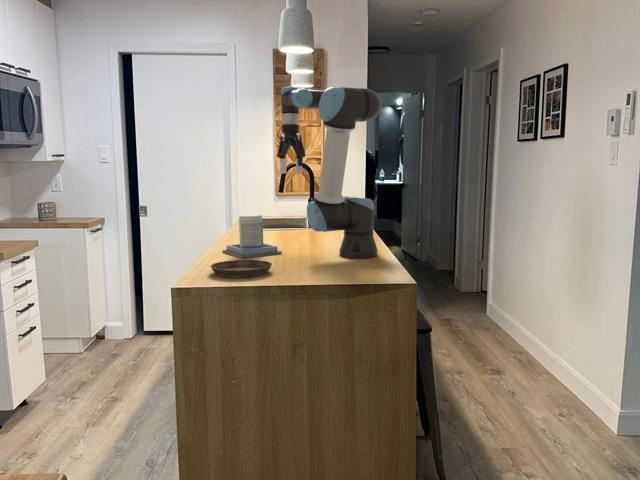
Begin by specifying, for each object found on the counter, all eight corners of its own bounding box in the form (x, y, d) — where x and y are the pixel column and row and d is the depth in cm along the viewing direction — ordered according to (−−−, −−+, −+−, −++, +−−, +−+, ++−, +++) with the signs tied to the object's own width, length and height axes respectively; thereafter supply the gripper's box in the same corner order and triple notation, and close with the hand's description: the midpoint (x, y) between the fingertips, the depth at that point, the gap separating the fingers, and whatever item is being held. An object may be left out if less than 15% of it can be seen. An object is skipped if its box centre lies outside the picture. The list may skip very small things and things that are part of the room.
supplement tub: (267, 251, 229) (266, 215, 227) (246, 253, 224) (245, 216, 222) (256, 248, 237) (255, 213, 235) (236, 250, 232) (235, 214, 230)
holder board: (281, 253, 228) (281, 246, 228) (241, 258, 218) (241, 250, 218) (261, 248, 243) (260, 241, 243) (222, 252, 233) (222, 245, 233)
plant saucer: (214, 268, 201) (214, 259, 200) (272, 267, 202) (272, 258, 202) (207, 280, 180) (206, 270, 180) (271, 279, 182) (271, 269, 181)
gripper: (313, 122, 234) (313, 174, 237) (283, 125, 255) (284, 172, 258) (298, 122, 230) (298, 174, 233) (268, 125, 251) (269, 173, 254)
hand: (291, 173), depth 246 cm, fingers open, 13 cm apart
